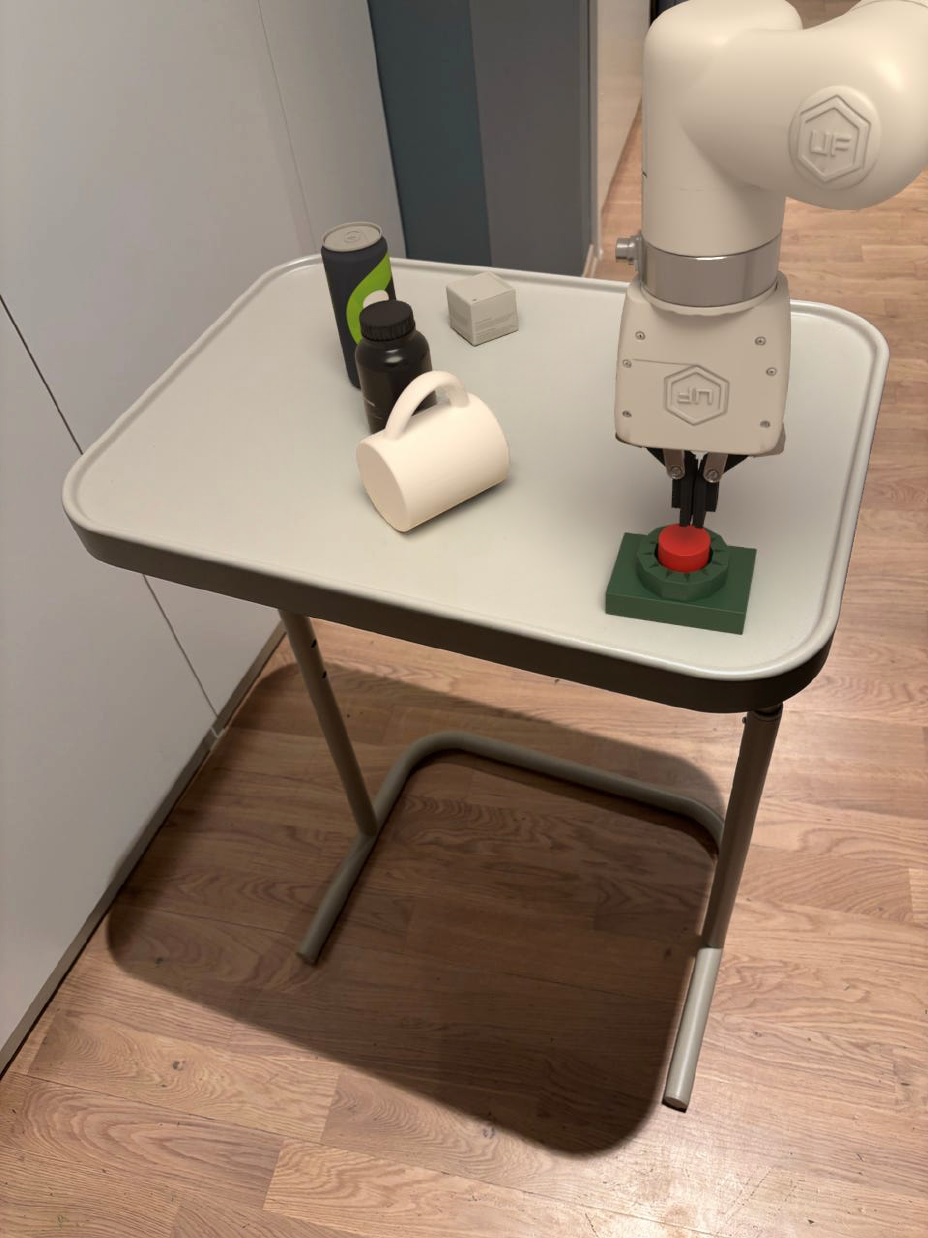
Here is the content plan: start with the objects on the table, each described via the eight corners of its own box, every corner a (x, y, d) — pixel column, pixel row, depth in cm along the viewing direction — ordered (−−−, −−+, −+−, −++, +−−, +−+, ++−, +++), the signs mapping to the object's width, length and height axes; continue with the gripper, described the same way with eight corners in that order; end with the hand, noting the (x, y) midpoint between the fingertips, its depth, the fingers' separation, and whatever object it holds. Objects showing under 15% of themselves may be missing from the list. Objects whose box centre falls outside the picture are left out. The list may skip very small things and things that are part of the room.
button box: (753, 569, 72) (759, 530, 69) (742, 635, 68) (748, 595, 65) (624, 552, 75) (624, 513, 72) (605, 613, 70) (605, 575, 68)
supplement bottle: (356, 439, 90) (330, 325, 81) (393, 401, 94) (371, 288, 85) (418, 454, 87) (398, 336, 79) (453, 414, 91) (437, 298, 83)
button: (711, 543, 69) (713, 525, 68) (704, 576, 67) (706, 558, 66) (662, 537, 70) (663, 519, 69) (653, 569, 68) (654, 551, 67)
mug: (365, 503, 83) (337, 384, 74) (460, 455, 86) (445, 336, 78) (415, 549, 78) (391, 428, 69) (514, 496, 81) (504, 375, 73)
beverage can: (350, 365, 100) (319, 224, 89) (408, 357, 99) (384, 216, 89) (348, 397, 95) (316, 253, 85) (409, 389, 95) (384, 244, 84)
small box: (520, 330, 101) (517, 287, 97) (473, 347, 99) (468, 304, 96) (493, 310, 105) (490, 267, 101) (448, 326, 103) (443, 284, 100)
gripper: (562, 287, 52) (576, 538, 65) (847, 296, 48) (802, 563, 61) (592, 229, 57) (600, 473, 70) (854, 232, 53) (811, 492, 66)
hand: (694, 514), depth 65 cm, fingers closed
